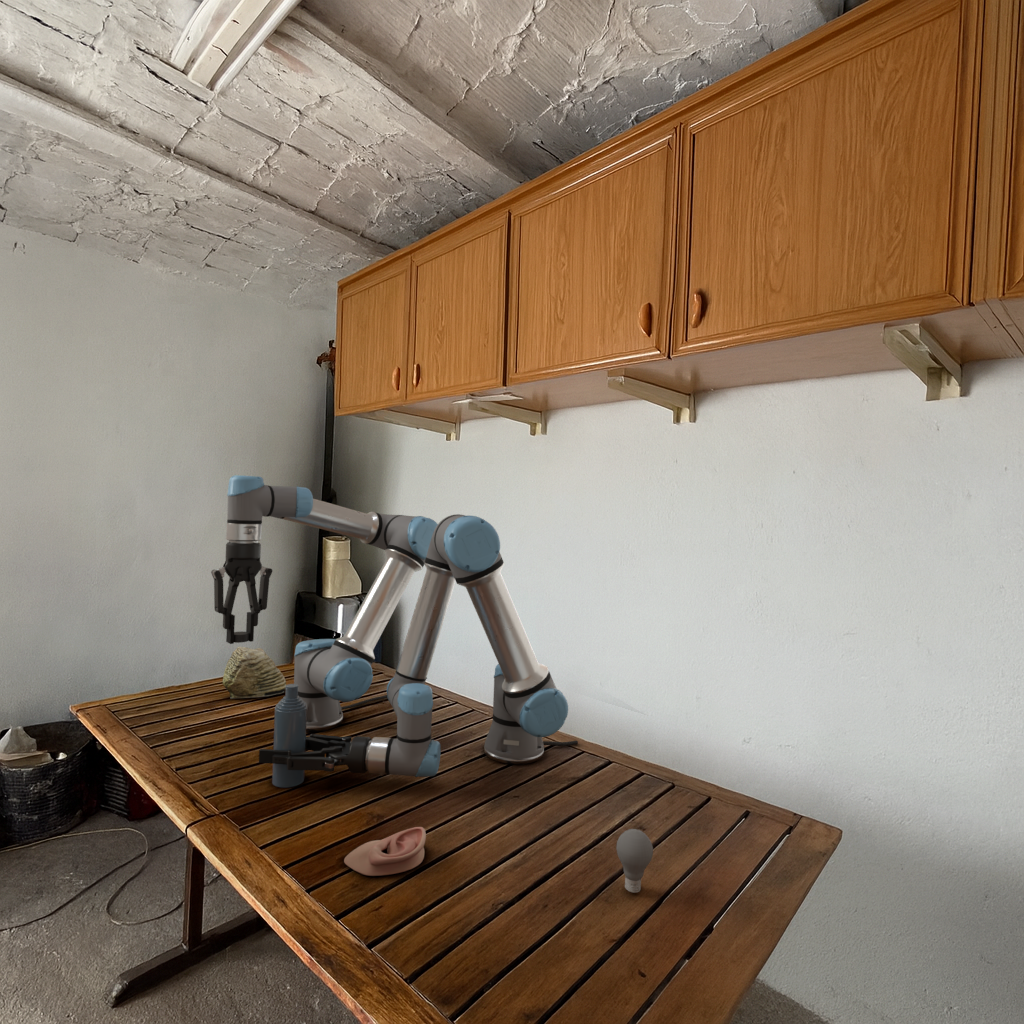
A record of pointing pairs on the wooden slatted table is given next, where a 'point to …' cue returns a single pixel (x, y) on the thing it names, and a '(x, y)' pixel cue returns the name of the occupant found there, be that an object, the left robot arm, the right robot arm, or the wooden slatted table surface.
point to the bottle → (289, 735)
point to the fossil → (252, 674)
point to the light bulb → (634, 857)
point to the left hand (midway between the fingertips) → (239, 641)
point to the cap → (241, 637)
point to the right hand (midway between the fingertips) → (267, 749)
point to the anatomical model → (389, 853)
